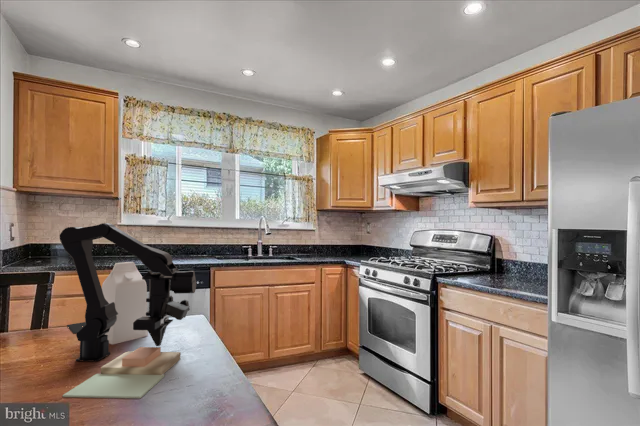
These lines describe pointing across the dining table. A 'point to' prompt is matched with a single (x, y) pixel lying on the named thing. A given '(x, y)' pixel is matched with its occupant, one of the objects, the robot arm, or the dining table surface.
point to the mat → (115, 386)
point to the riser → (152, 368)
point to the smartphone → (76, 327)
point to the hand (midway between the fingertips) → (158, 345)
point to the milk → (126, 301)
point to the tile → (141, 356)
